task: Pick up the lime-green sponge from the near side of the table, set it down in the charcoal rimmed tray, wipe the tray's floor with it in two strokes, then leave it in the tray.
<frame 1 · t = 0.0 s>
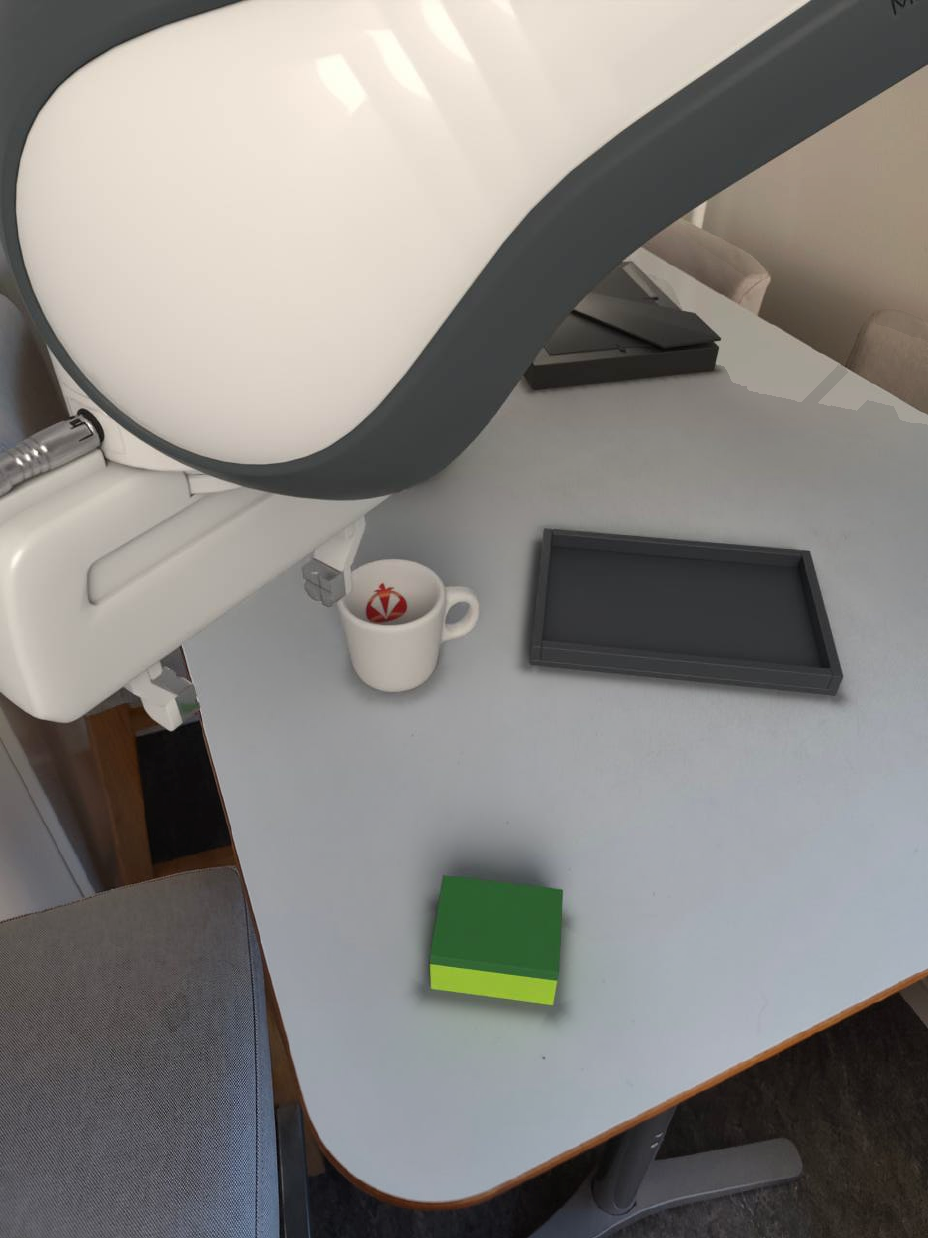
hand: (257, 650, 39), 22 cm above the table, tool pointing down, fingers open, 8 cm apart
medicine box: (563, 263, 132), on the table
pot: (292, 292, 123), on the table
cup: (413, 666, 69), on the table
picture frame: (586, 331, 115), on the table
planter: (394, 462, 91), on the table
tray: (675, 613, 73), on the table
sponge: (495, 955, 51), on the table
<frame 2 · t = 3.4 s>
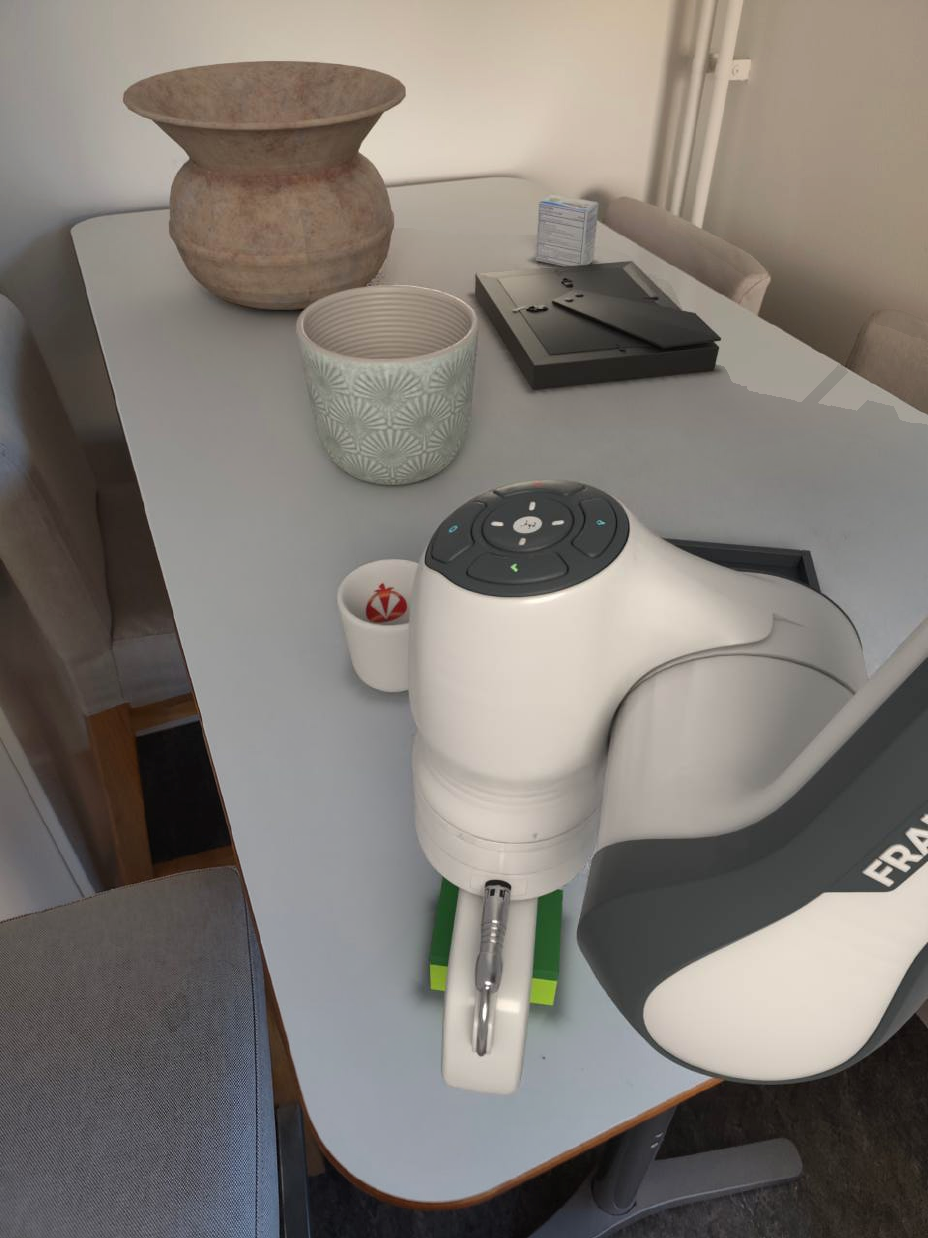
hand: (497, 941, 50), 2 cm above the table, tool pointing down, fingers closed on sponge, 5 cm apart
sponge: (495, 955, 51), on the table, touching gripper
everything else where it was.
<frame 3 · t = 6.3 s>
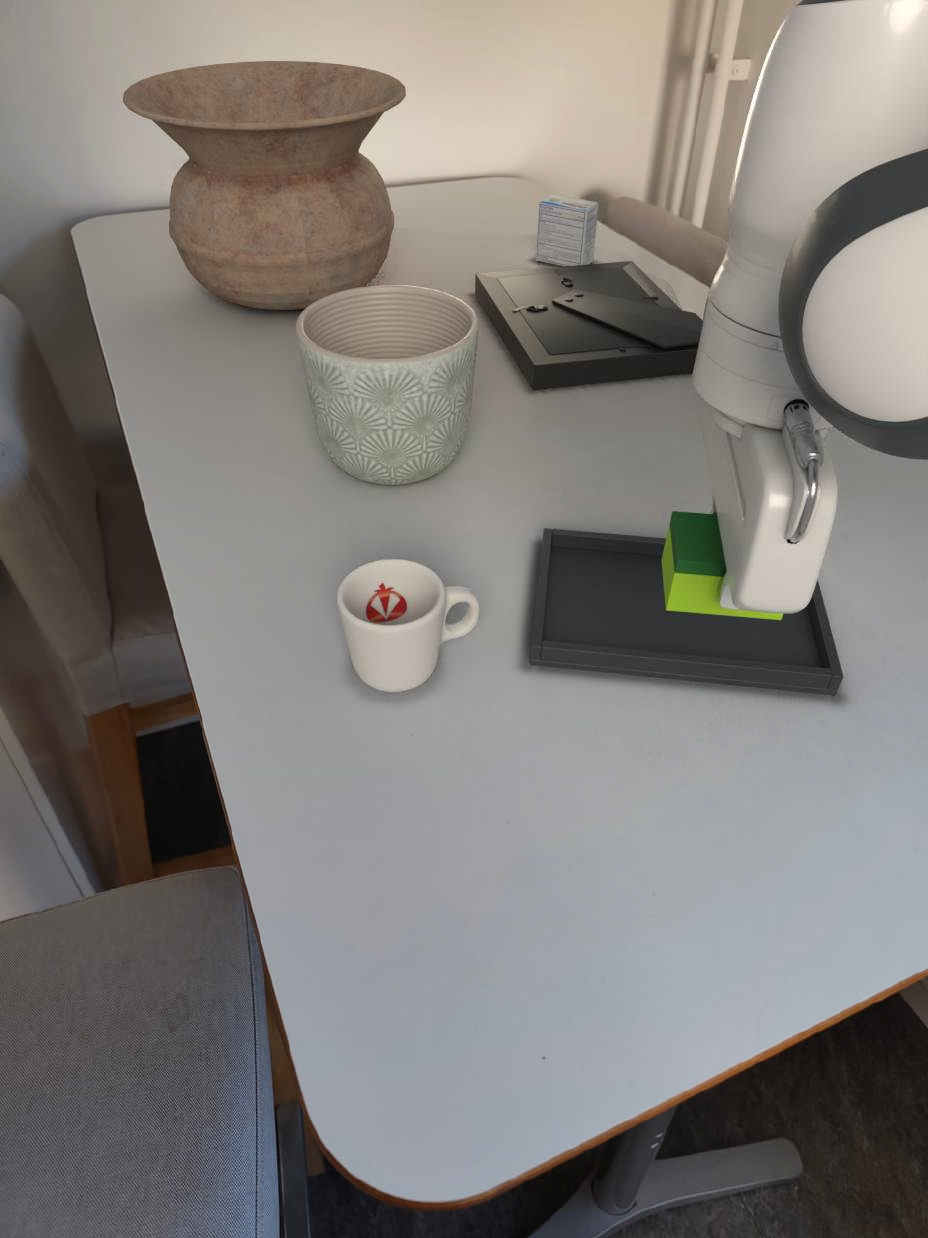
hand: (726, 567, 54), 15 cm above the table, tool pointing down, fingers closed on sponge, 5 cm apart
sponge: (719, 589, 55), point 13 cm above the table, touching gripper
everything else where it was.
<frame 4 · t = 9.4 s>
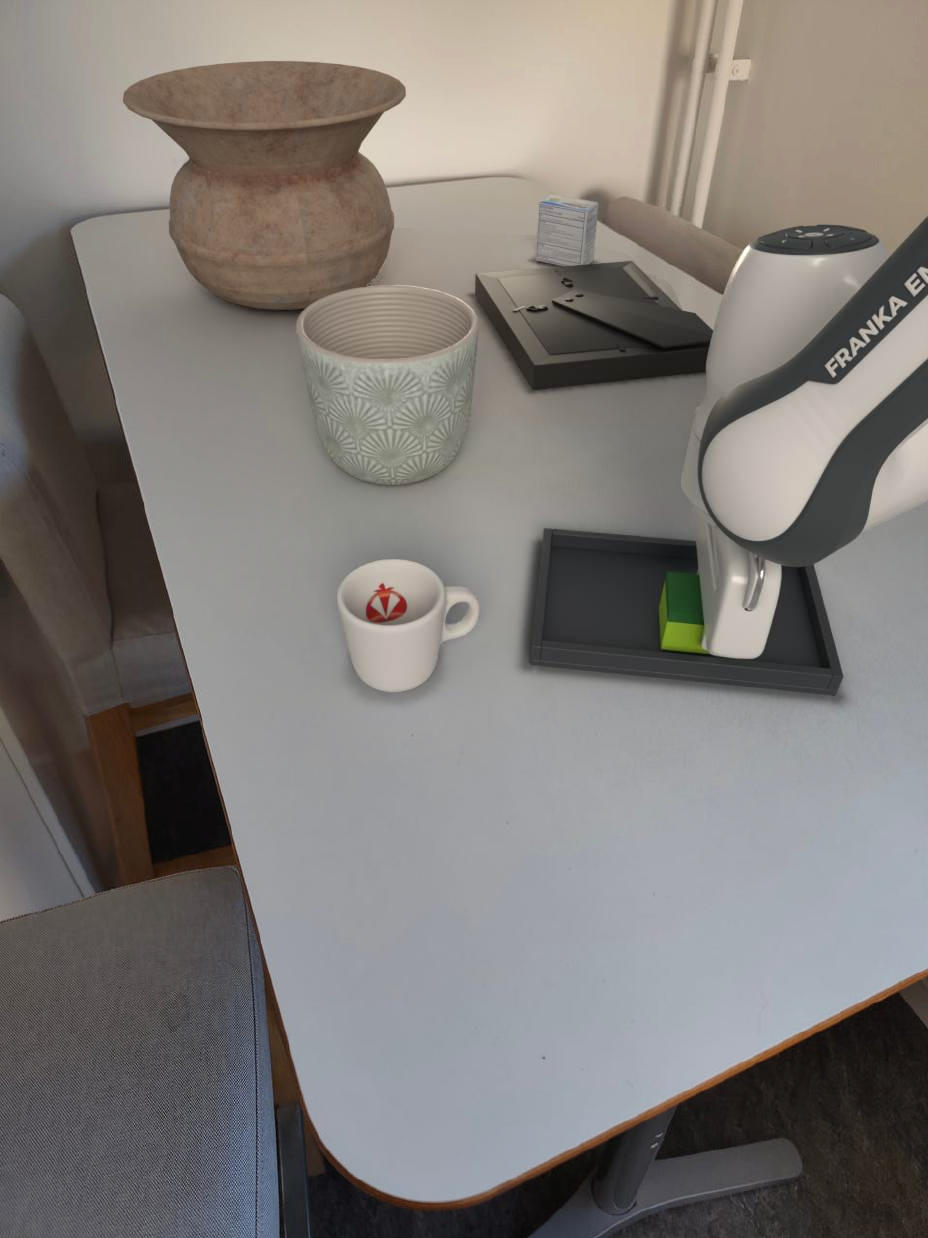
hand: (708, 616, 70), 2 cm above the table, tool pointing down, fingers closed on sponge, 5 cm apart
sponge: (703, 632, 71), point 1 cm above the table, touching gripper
everything else where it was.
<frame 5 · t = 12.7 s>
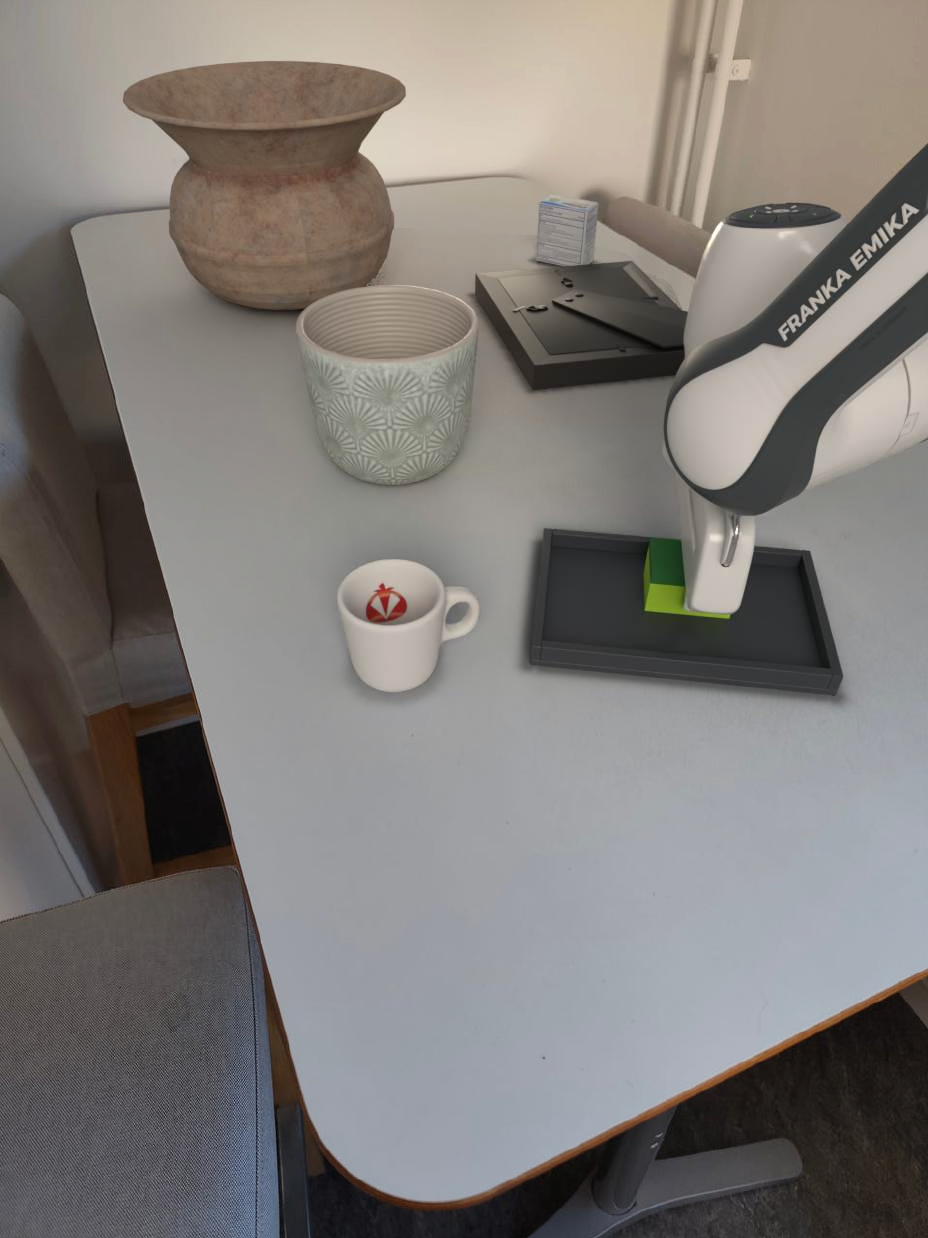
hand: (690, 580, 73), 2 cm above the table, tool pointing down, fingers closed on sponge, 5 cm apart
sponge: (685, 595, 74), point 1 cm above the table, touching gripper
everything else where it was.
when the fingers open (2 cm above the table, at t = 15.6 s): sponge stays where it is, resting on tray.
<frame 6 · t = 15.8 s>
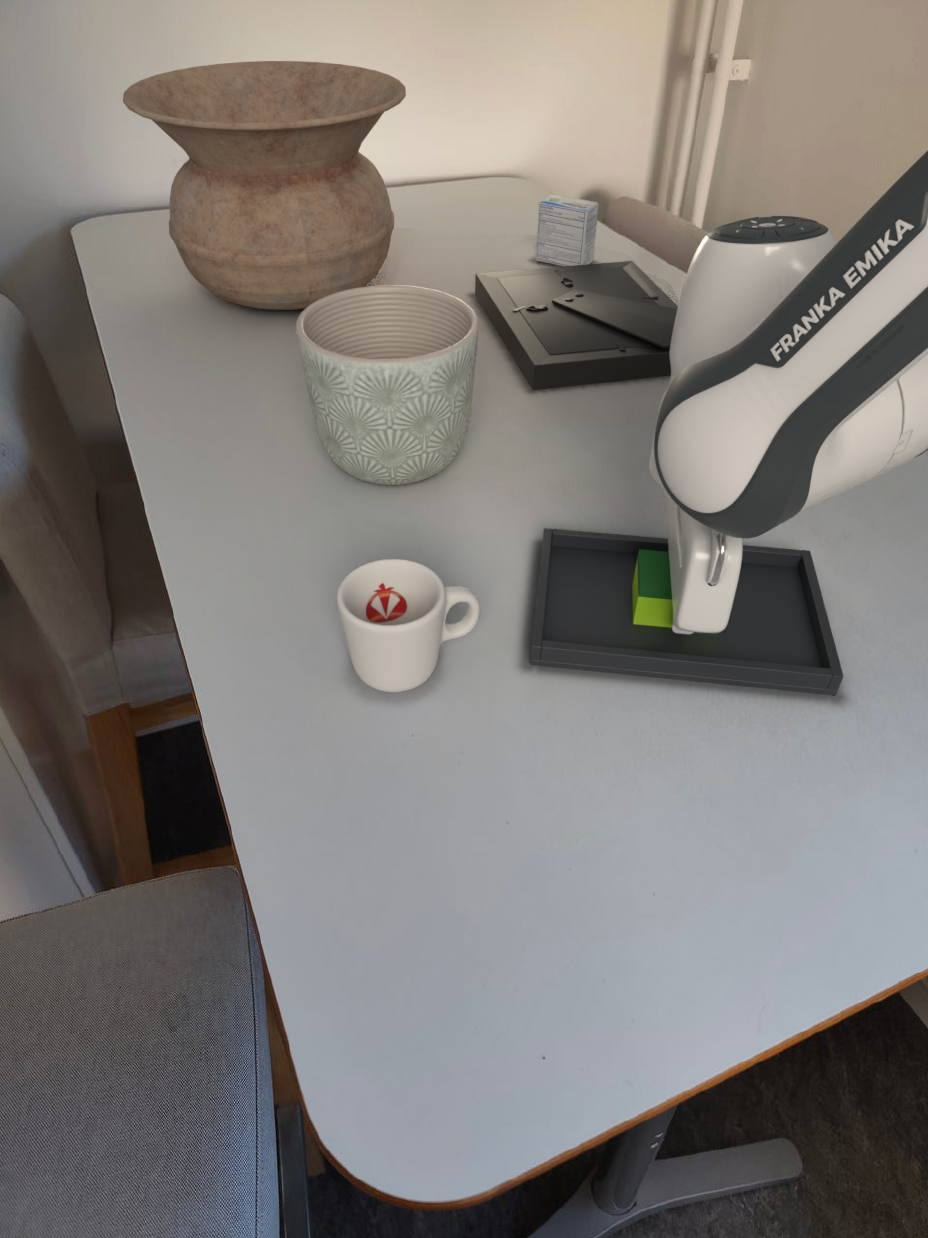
hand: (679, 596, 72), 2 cm above the table, tool pointing down, fingers open, 6 cm apart
sponge: (674, 608, 73), point 1 cm above the table, touching tray
everything else where it was.
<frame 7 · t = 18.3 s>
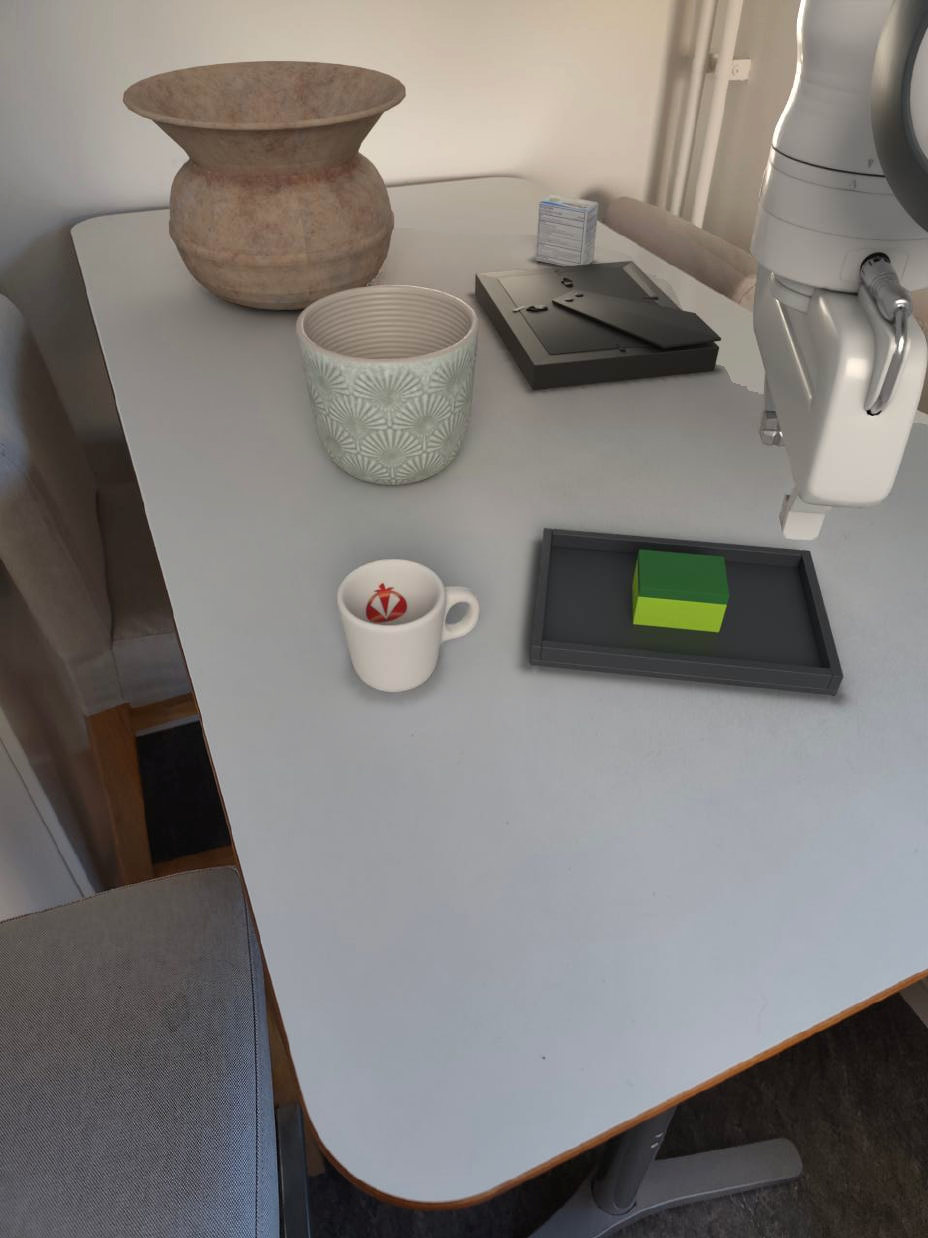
hand: (784, 482, 48), 22 cm above the table, tool pointing down, fingers open, 8 cm apart
nothing on the table moved.
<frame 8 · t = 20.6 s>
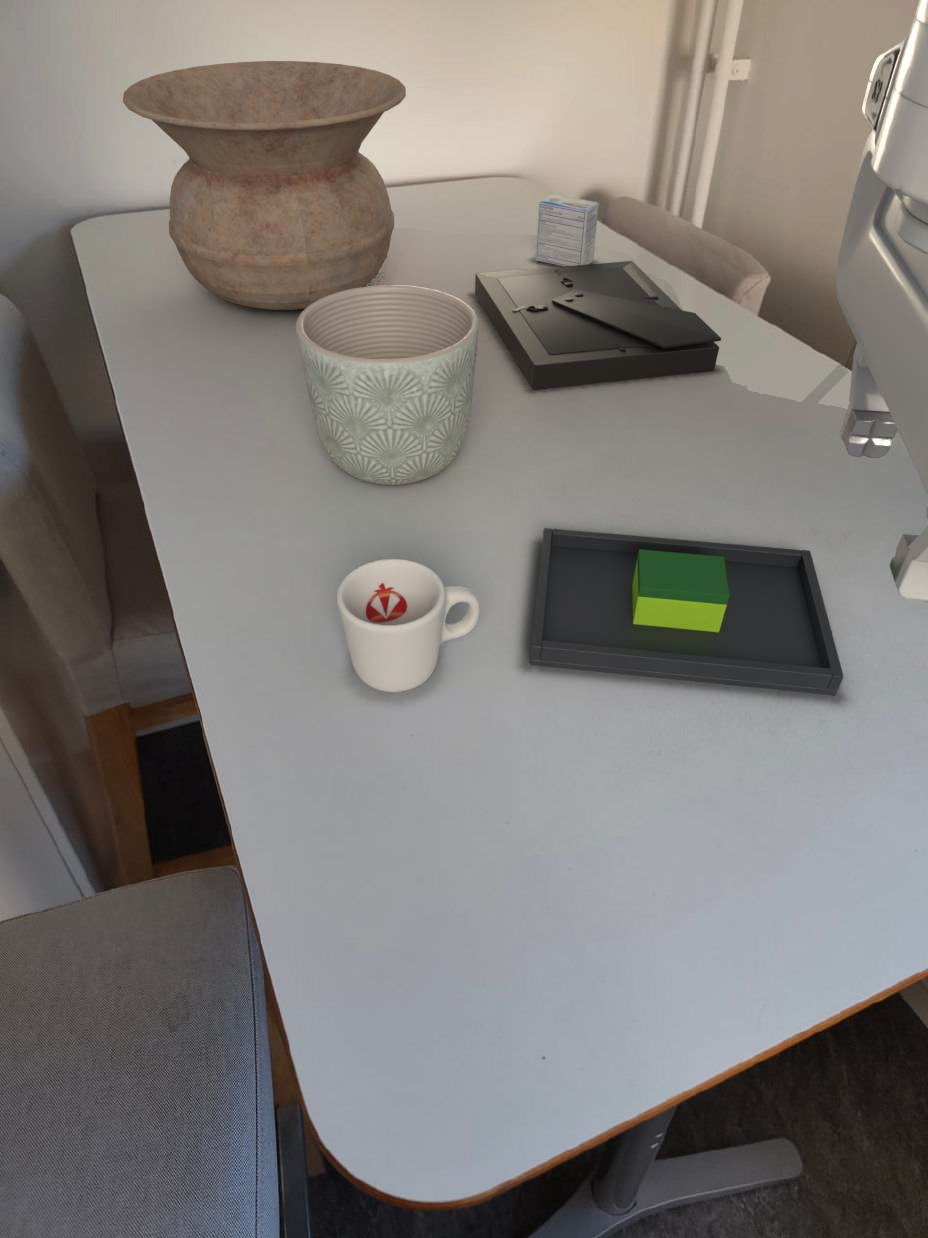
hand: (885, 511, 35), 29 cm above the table, tool pointing down, fingers open, 8 cm apart
nothing on the table moved.
at the end: sponge inside the target area in the tray (0.2 cm from its centre), point 0.6 cm above the tray's base; sponge touching tray; the gripper is holding nothing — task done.
